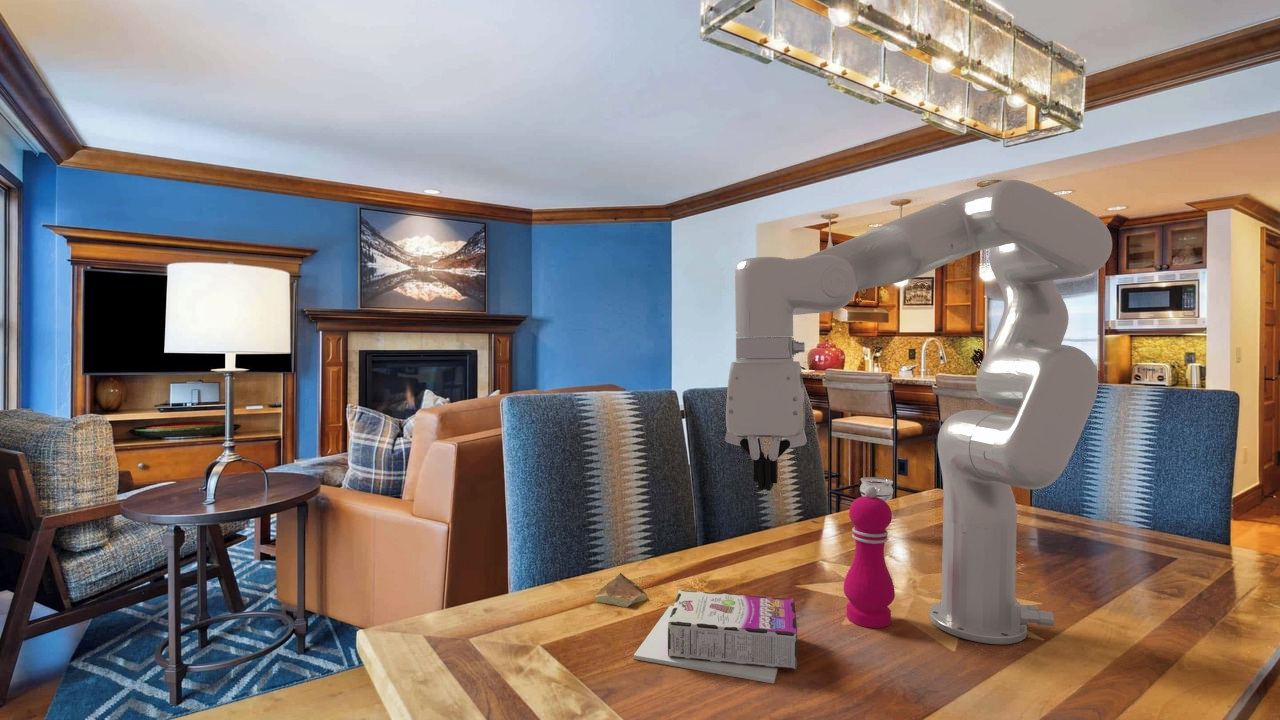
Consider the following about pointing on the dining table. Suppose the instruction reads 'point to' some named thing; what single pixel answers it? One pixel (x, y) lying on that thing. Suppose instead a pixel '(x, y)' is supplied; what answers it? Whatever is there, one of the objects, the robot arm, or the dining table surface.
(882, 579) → the pepper mill
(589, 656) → the dining table surface
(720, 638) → the candy bar box
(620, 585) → the shard
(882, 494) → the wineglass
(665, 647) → the pale gray mat
